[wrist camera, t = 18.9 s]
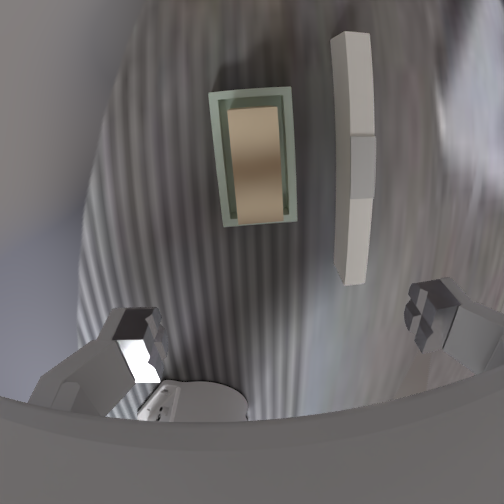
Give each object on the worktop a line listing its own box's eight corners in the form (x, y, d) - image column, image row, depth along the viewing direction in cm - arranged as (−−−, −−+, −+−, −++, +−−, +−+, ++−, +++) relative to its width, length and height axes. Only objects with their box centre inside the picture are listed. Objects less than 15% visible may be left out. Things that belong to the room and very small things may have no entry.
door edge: (352, 261, 38) (365, 285, 33) (333, 263, 38) (344, 287, 33) (352, 41, 26) (371, 33, 21) (329, 39, 26) (345, 30, 21)
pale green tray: (293, 211, 35) (297, 221, 32) (224, 217, 35) (223, 227, 32) (287, 87, 28) (291, 86, 26) (211, 93, 29) (208, 92, 26)
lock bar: (230, 108, 29) (227, 110, 23) (270, 105, 29) (277, 106, 23) (239, 202, 33) (238, 224, 28) (276, 199, 33) (283, 221, 28)
